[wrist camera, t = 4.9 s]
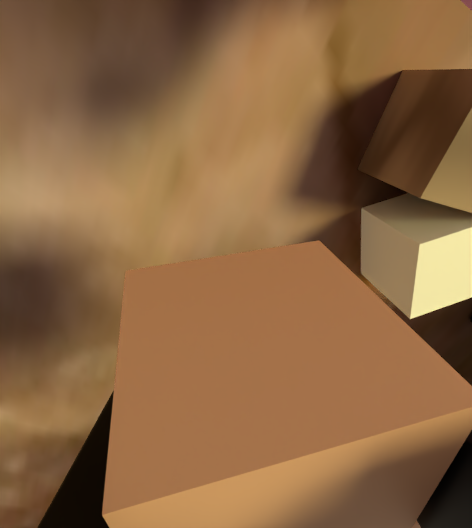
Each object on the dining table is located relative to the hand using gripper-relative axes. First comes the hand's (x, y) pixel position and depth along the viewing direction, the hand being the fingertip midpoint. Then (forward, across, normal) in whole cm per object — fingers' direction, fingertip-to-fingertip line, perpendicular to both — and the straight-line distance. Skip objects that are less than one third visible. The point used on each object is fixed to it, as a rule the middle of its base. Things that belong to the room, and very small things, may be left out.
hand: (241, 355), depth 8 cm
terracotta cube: (+1, 0, 0) cm, 1 cm away
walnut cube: (+10, -13, -3) cm, 16 cm away
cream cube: (+10, -13, +3) cm, 17 cm away
